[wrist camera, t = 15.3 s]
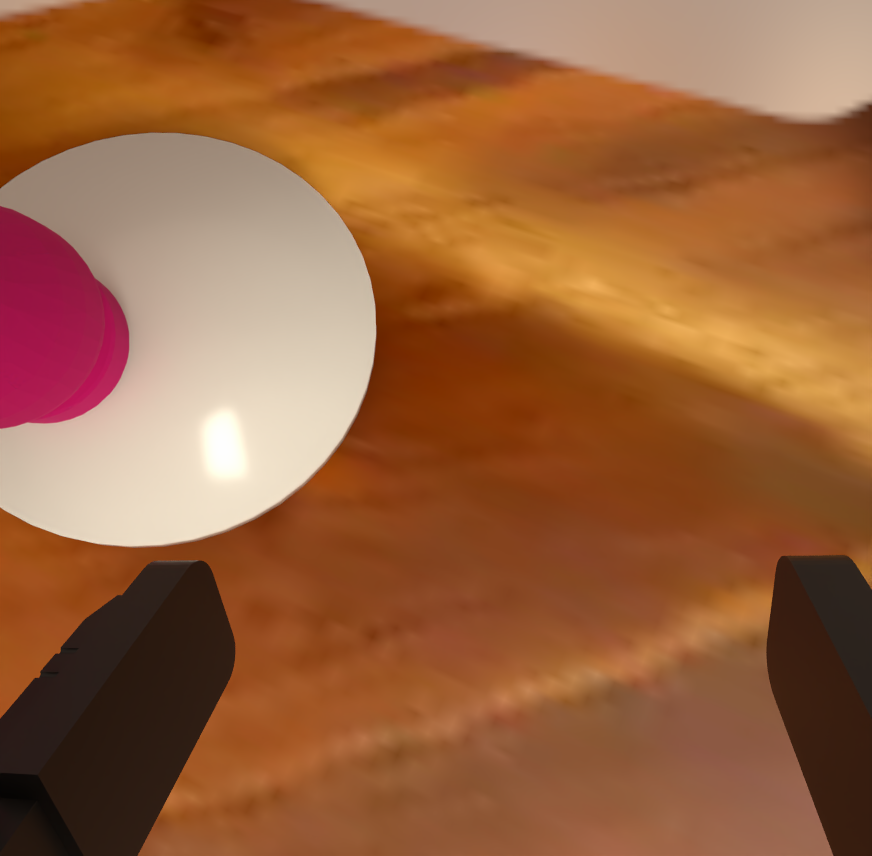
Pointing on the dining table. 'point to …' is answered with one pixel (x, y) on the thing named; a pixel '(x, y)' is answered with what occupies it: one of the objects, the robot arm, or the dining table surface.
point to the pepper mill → (53, 328)
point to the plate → (195, 341)
